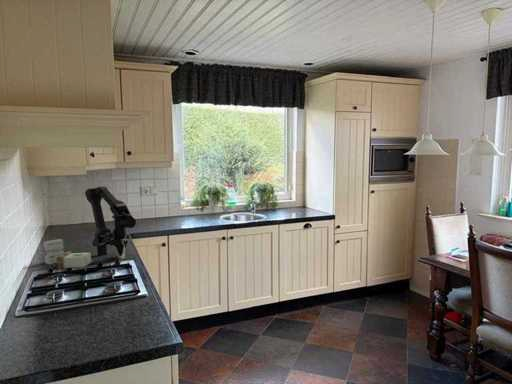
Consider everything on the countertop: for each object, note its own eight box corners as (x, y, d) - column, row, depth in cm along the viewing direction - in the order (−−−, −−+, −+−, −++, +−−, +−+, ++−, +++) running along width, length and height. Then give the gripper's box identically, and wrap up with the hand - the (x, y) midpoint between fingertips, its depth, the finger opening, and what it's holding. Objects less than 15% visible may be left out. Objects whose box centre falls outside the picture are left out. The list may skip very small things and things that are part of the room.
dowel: (119, 259, 210) (118, 244, 209) (126, 258, 210) (125, 244, 209) (117, 260, 206) (116, 246, 205) (124, 260, 206) (123, 245, 206)
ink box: (61, 259, 212) (59, 238, 211) (65, 261, 209) (63, 239, 208) (44, 263, 206) (42, 241, 205) (48, 264, 202) (46, 242, 202)
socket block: (71, 262, 200) (70, 253, 199) (91, 262, 200) (90, 252, 200) (63, 267, 190) (62, 258, 189) (84, 267, 190) (83, 257, 190)
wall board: (68, 264, 201) (67, 251, 201) (130, 261, 203) (130, 248, 203) (57, 271, 188) (56, 257, 188) (124, 268, 190) (123, 254, 190)
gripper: (110, 224, 215) (111, 251, 216) (99, 230, 197) (100, 259, 198) (130, 223, 216) (131, 251, 217) (121, 229, 198) (122, 259, 199)
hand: (121, 255), depth 208 cm, fingers closed on dowel, 4 cm apart
